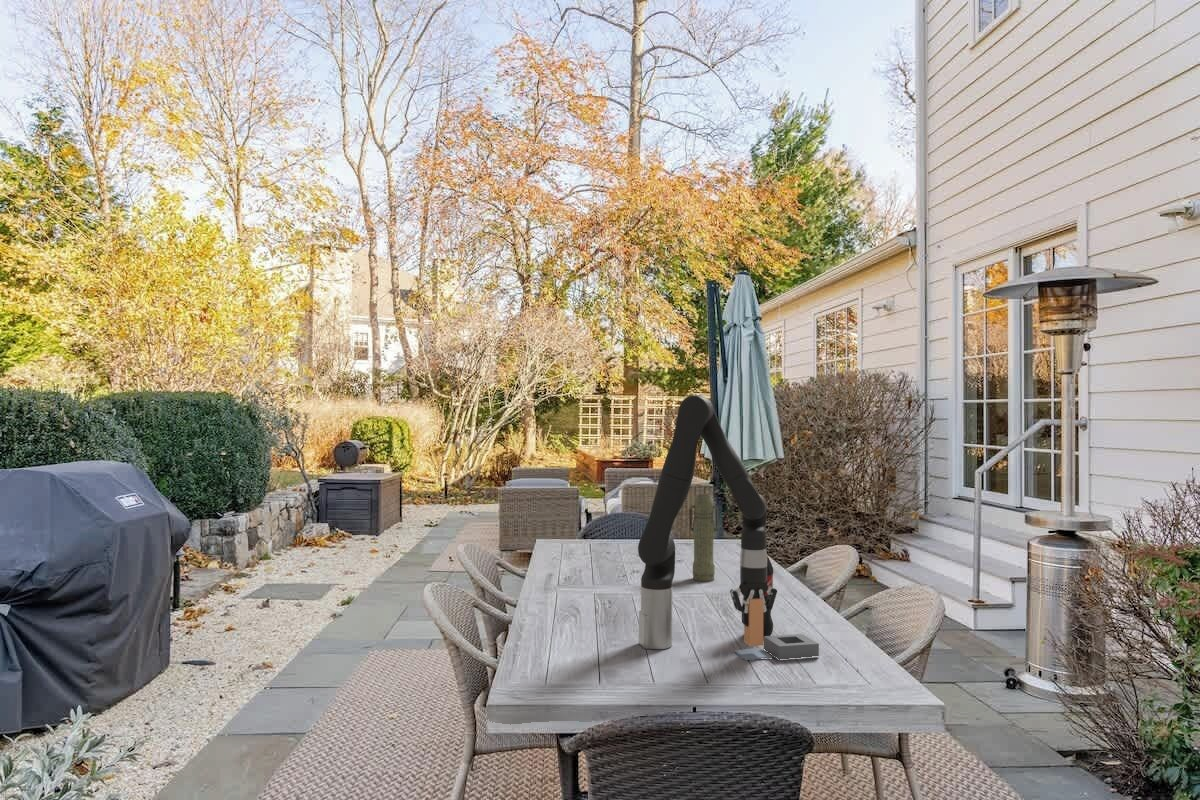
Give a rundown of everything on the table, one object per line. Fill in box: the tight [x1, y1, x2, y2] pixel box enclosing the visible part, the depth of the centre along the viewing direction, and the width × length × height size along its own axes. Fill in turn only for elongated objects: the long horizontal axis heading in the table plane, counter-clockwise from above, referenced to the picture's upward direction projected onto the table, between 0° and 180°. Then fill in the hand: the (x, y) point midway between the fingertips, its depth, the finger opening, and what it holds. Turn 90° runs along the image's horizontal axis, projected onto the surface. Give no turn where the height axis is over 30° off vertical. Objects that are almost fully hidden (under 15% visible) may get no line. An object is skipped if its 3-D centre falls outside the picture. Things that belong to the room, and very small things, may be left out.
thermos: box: [688, 493, 720, 583], centre depth 322 cm, size 9×12×35 cm
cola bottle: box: [763, 555, 774, 639], centre depth 242 cm, size 8×8×30 cm
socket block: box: [763, 633, 820, 661], centre depth 223 cm, size 12×10×4 cm
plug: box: [743, 598, 764, 647], centre depth 222 cm, size 4×4×13 cm
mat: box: [734, 647, 773, 661], centre depth 222 cm, size 8×8×1 cm
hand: (753, 624), depth 222 cm, fingers closed on plug, 4 cm apart
